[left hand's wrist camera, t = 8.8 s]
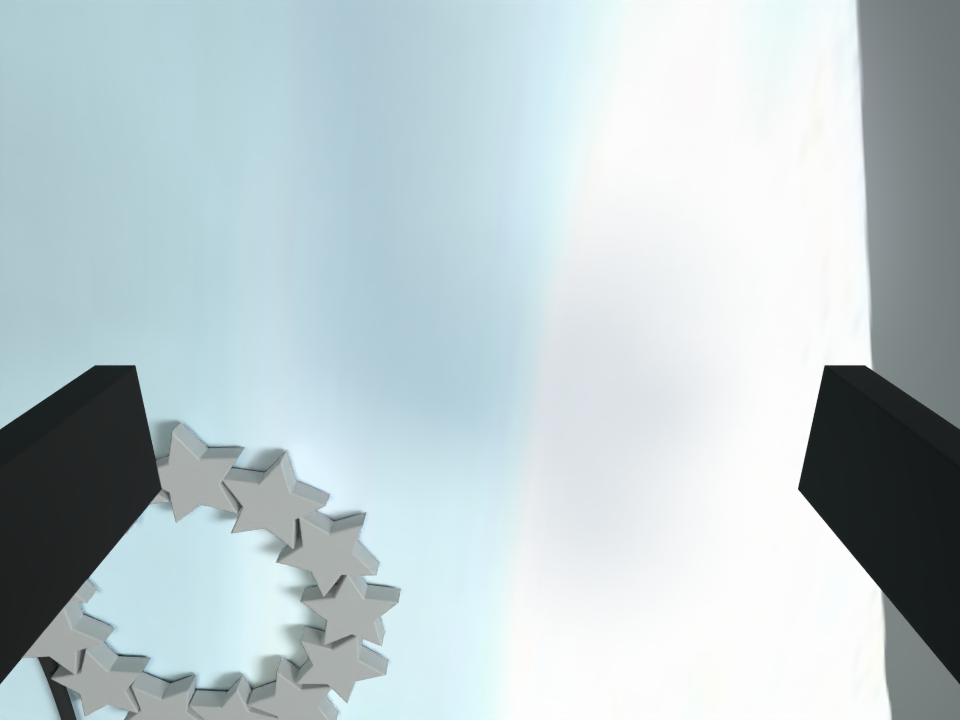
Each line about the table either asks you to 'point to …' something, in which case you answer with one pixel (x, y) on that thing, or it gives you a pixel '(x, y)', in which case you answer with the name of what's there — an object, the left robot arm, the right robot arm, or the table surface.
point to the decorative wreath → (321, 549)
